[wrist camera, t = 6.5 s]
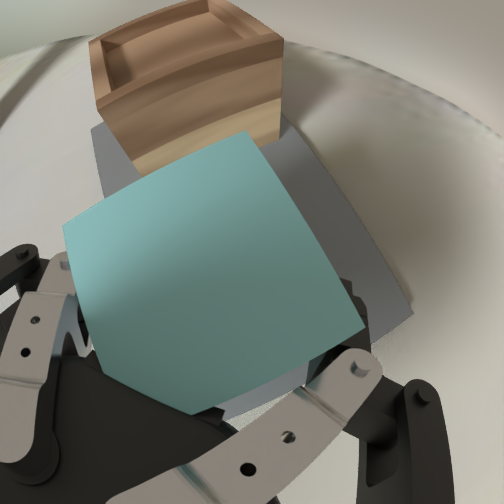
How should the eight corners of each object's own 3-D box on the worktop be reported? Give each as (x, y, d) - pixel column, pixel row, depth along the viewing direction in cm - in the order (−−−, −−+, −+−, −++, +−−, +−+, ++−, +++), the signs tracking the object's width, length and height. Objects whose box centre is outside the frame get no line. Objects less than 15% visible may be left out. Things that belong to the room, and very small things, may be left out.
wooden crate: (127, 115, 20) (88, 42, 12) (225, 73, 21) (213, -7, 13) (155, 195, 17) (97, 110, 10) (279, 139, 18) (283, 38, 10)
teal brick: (175, 293, 15) (62, 225, 6) (256, 253, 16) (246, 129, 6) (214, 376, 14) (132, 434, 4) (299, 334, 14) (365, 327, 5)
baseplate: (95, 136, 21) (90, 129, 20) (237, 71, 22) (236, 63, 21) (201, 426, 14) (197, 431, 13) (406, 315, 16) (413, 313, 15)
